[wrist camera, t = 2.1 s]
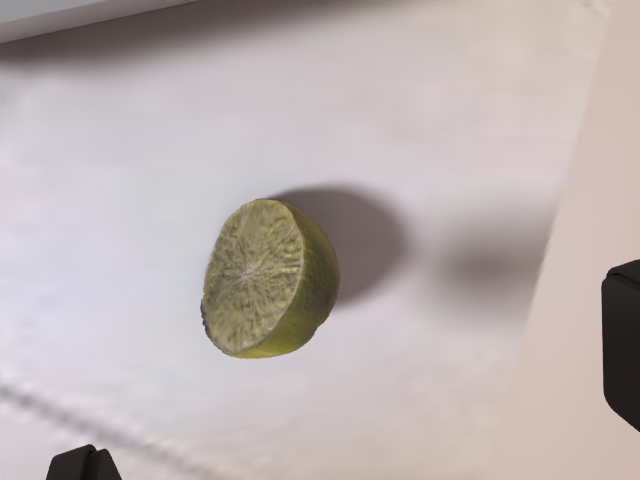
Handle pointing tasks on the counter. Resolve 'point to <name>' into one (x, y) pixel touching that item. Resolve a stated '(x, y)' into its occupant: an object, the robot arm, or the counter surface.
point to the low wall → (67, 14)
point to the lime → (268, 281)
